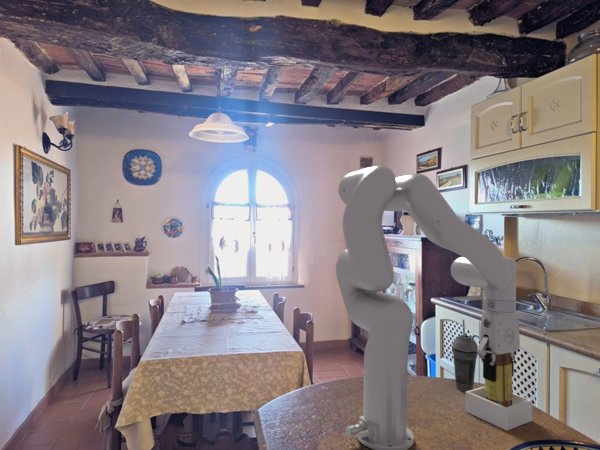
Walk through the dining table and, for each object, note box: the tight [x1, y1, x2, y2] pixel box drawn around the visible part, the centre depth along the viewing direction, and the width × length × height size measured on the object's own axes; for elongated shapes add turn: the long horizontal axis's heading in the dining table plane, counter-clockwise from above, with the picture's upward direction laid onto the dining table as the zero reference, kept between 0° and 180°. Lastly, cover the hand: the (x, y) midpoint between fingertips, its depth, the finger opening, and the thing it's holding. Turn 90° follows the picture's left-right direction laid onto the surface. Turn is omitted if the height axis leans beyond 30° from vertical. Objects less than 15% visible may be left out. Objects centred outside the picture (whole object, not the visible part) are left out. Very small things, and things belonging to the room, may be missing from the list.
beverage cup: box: [451, 319, 479, 392], centre depth 117 cm, size 7×7×20 cm
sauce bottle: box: [484, 349, 514, 407], centre depth 100 cm, size 6×6×20 cm
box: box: [464, 385, 533, 431], centre depth 100 cm, size 10×11×5 cm
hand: (498, 376), depth 100 cm, fingers closed on sauce bottle, 6 cm apart
